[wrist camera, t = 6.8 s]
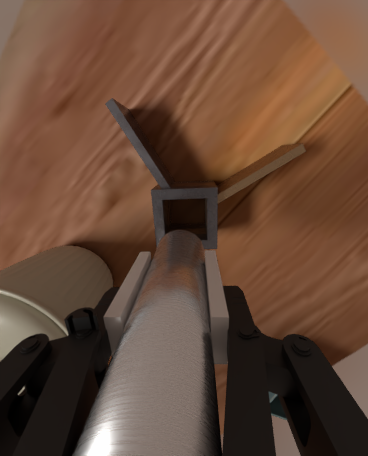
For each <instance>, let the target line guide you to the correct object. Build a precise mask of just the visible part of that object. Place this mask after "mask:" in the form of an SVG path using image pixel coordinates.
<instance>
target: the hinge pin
mask: <svg viewBox="0 0 368 456" xmlns="http://www.w3.org/2000/svg"><path fill="white" fill-rule="evenodd" d="M72 456H222V448H221V437H220V425H219V414H218V403H217V392H216V380H215V369H214V358H213V347H212V336H211V328H210V316H209V305H208V293H207V282H206V270H205V257H204V247H203V244H202V242H201V240H200V239H199V238H198V237H197V236H196V235H195V234H193V233H191V232H189V231H185V230H175V231H172V232H169V233H167V234H166V235H165V236H164V237H163V238H162V239H161V240H160V242H159V245H158V247H157V249H156V252H155V254H154V257H153V259H152V262H151V264H150V266H149V269H148V271H147V274H146V276H145V279H144V281H143V283H142V286H141V288H140V291H139V293H138V296H137V298H136V301H135V303H134V305H133V308H132V310H131V313H130V315H129V318H128V320H127V322H126V325H125V327H124V330H123V332H122V335H121V337H120V340H119V342H118V344H117V347H116V349H115V352H114V354H113V357H112V359H111V361H110V364H109V366H108V369H107V371H106V374H105V376H104V378H103V381H102V383H101V386H100V388H99V391H98V393H97V396H96V398H95V400H94V403H93V405H92V408H91V410H90V413H89V415H88V417H87V420H86V422H85V425H84V427H83V430H82V432H81V434H80V437H79V439H78V442H77V444H76V447H75V449H74V452H73V454H72Z"/></svg>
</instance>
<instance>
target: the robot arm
mask: <svg viewBox="0 0 368 456" xmlns="http://www.w3.org/2000/svg"><path fill="white" fill-rule="evenodd" d="M151 262H152V261H151V252H140V253H139V255H138V257H137V259H136V260H135V262H134V264H133V266H132V267H131V269H130V271H129V273H128V274H127V276H126V278H125V280H124V282H123V283H122V285H121V287H111V288H110V289H109V290H108V291H106V292H105V293H104V295H103V296H102V298H101V300H100V301H99V302H98V304H97V305H96V307H95V308H94V309H93V308H90V307H84V308H80V309H77V310H75V311H73V312H72V313H70V314H69V315H68V316H67V317H66V318H65V319H64V321H65V324H66V328H67V331H68V336H66V337H62V338H58V339H54V340H49V337H48V336H47V335H46V334H43V333H40V334H35V335H32V336H29V337H27V338H26V339H24V340H22V341H21V342H20V343H18V344H17V345H16V346H15V347H14V348H13V349H12V350H11V351H10V352H9V353H8V354H7V355H6V356H5V357H4V358H3V359H2V360H1V361H0V456H72V454H73V452H74V449H75V447H76V444H77V442H78V439H79V437H80V434H81V432H82V430H83V427H84V425H85V422H86V420H87V417H88V415H89V413H90V410H91V408H92V405H93V403H94V400H95V398H96V396H97V393H98V391H99V388H100V386H101V383H102V381H103V378H104V376H105V374H106V371H107V369H108V361H109V358H110V356H111V355H112V357H113V354H114V352H115V349H116V347H117V344H118V342H119V340H120V337H121V335H122V332H123V330H124V327H125V325H126V322H127V320H128V318H129V315H130V313H131V310H132V308H133V305H134V303H135V301H136V298H137V296H138V293H139V291H140V288H141V286H142V283H143V281H144V279H145V276H146V274H147V271H148V269H149V266H150V264H151ZM205 270H206V282H207V293H208V305H209V316H210V328H211V336H212V347H213V358H214V364H228V372H227V389H226V405H225V421H224V437H223V453H222V456H276V452H275V444H274V436H273V426H272V418H271V409H270V400H269V392H272V393H274V394H277V395H278V397H279V400H280V402H281V405H282V408H283V410H284V413H285V415H286V418H287V421H288V423H289V426H290V429H291V431H292V434H293V437H294V439H295V442H296V444H297V447H298V449H299V452H300V455H301V456H368V419H367V417H366V416H365V414H364V413H363V411H362V410H361V409H360V407H359V406H358V404H357V403H356V401H355V400H354V398H353V397H352V395H351V394H350V393H349V391H348V390H347V388H346V387H345V385H344V384H343V382H342V381H341V379H340V378H339V377H338V375H337V374H336V372H335V371H334V369H333V368H332V366H331V365H330V363H329V362H328V360H327V359H326V357H325V356H324V355H323V353H322V352H321V350H320V349H319V347H318V346H317V345H316V344H315V343H314V342H313V341H311V340H310V339H308V338H307V337H304V336H301V335H296V334H291V335H287V336H286V337H285V338H284V340H283V341H282V340H278V339H274V338H271V337H268V336H266V335H264V334H262V333H261V331H260V330H259V329H258V328H257V326H255V324H254V322H253V319H252V316H251V313H250V310H249V307H248V305H247V302H246V299H245V296H244V293H243V291H242V290H241V289H240V288H239V287H238V286H222V281H221V276H220V271H219V266H218V262H217V257H216V252H215V250H209V251H205ZM23 387H25V389H24V390H23V391H22V392H21V393H20V394H19V392H20V391H21V390H22V388H23ZM18 394H19V395H18Z"/></svg>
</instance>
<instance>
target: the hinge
mask: <svg viewBox="0 0 368 456" xmlns="http://www.w3.org/2000/svg"><path fill="white" fill-rule="evenodd" d="M106 106H107V107H108V109H109V110H110V112H111V113H112V115H113V116H114V118H115V119H116V121H117V122H118V124H119V125H120V127H121V128H122V130H123V131H124V133H125V134H126V136H127V137H128V139H129V140H130V142H131V143H132V145H133V146H134V148H135V149H136V151H137V152H138V154H139V155H140V157H141V158H142V160H143V161H144V163H145V164H146V166H147V167H148V169H149V170H150V172H151V173H152V175H153V176H154V178H155V179H156V181H157V182H158V185H157V186H155V187H154V188H153V189H152V190H151V195H152V205H153V215H154V225H155V236H156V246H157V247H158V245H159V242H160V240H161V239H162V238H163V237H164V236H165V235H166V234H167V233H169V232H172V231H175V230H185V231H189V232H191V233H193V234H195V235H196V236H197V237H198V238H199V239H200V240H201V242H202V244H203V247H204V249H217V208H218V203H220V202H221V201H223V200H225V199H226V198H228V197H230V196H232V195H233V194H235V193H237V192H238V191H240V190H242V189H243V188H245V187H247V186H248V185H250V184H252V183H253V182H255V181H257V180H259V179H260V178H262V177H264V176H265V175H267V174H269V173H270V172H272V171H274V170H275V169H277V168H279V167H280V166H282V165H284V164H286V163H287V162H289V161H291V160H292V159H294V158H296V157H297V156H299V155H301V154H302V153H304V152H306V150H305V148H304V145H303V143H301V144H292V145H282V146H280V147H279V148H277V149H275V150H274V151H272V152H271V153H269V154H267V155H266V156H264V157H262V158H261V159H259V160H258V161H256V162H254V163H253V164H251V165H249V166H248V167H246V168H245V169H243V170H241V171H240V172H238V173H236V174H235V175H233V176H232V177H230V178H228V179H227V180H225V181H223V182H222V183H220V184H219V185H217V186H216V184H215V183H214V181H213V180H212V181H187V182H175V181H174V180H173V178H172V176H171V175H170V173H169V172H168V170H167V169H166V167H165V166H164V164H163V162H162V161H161V159H160V158H159V156H158V155H157V153H156V151H155V150H154V148H153V147H152V145H151V144H150V142H149V140H148V139H147V137H146V136H145V134H144V133H143V131H142V130H141V128H140V126H139V125H138V123H137V122H136V120H135V119H134V117H133V115H132V114H131V112H130V111H129V109H127V108H126V107H124V106H123V105H121V104H120V103H119V102H117V101H116V100H114V99H113V98H112V99H110V100H109V101H108V102H107V103H106ZM200 198H205V223H202V224H171V213H170V200H171V199H200Z"/></svg>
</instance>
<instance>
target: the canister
mask: <svg viewBox="0 0 368 456" xmlns="http://www.w3.org/2000/svg"><path fill="white" fill-rule="evenodd" d="M111 287H113V279H112V274H111V273H110V269H109V268H108V266H107V265H106V264H105V262H104V260H102V259H101V258H100V257H99V256H97V255H96V254H95V253H93V252H91V251H90V250H87V249H85V248H81V247H79V246H72V245H70V246H60V247H54V248H51V249H49V250H46V251H44V252H41V253H39V254H37V255H34V256H32V257H30V258H27V259H25V260H23V261H21V262H18V263H16V264H14V265H12V266H10V267H8V268H6V269H3V270H1V271H0V361H1V360H2V359H3V358H4V357H5V356H6V355H7V354H8V353H9V352H10V351H11V350H12V349H13V348H14V347H15V346H16V345H17V344H18V343H20V342H21V341H22V340H24V339H26V338H27V337H29V336H32V335H35V334H40V333H43V334H46V335H47V336H48V337H49V340H54V339H58V338H62V337H66V336H68V331H67V328H66V324H65V321H64V319H65V318H66V317H67V316H68V315H69V314H70V313H72V312H73V311H75V310H77V309H80V308H84V307H90V308H93V309H94V308H95V307H96V305H97V304H98V302H99V301H100V300H101V298H102V296H103V295H104V293H105V292H106V291H108V290H109V289H110V288H111ZM24 389H25V387H23V388H22V390H21V391H20V392H19V394H20V393H21V392H22V391H23V390H24ZM19 394H18V395H19Z"/></svg>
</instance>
